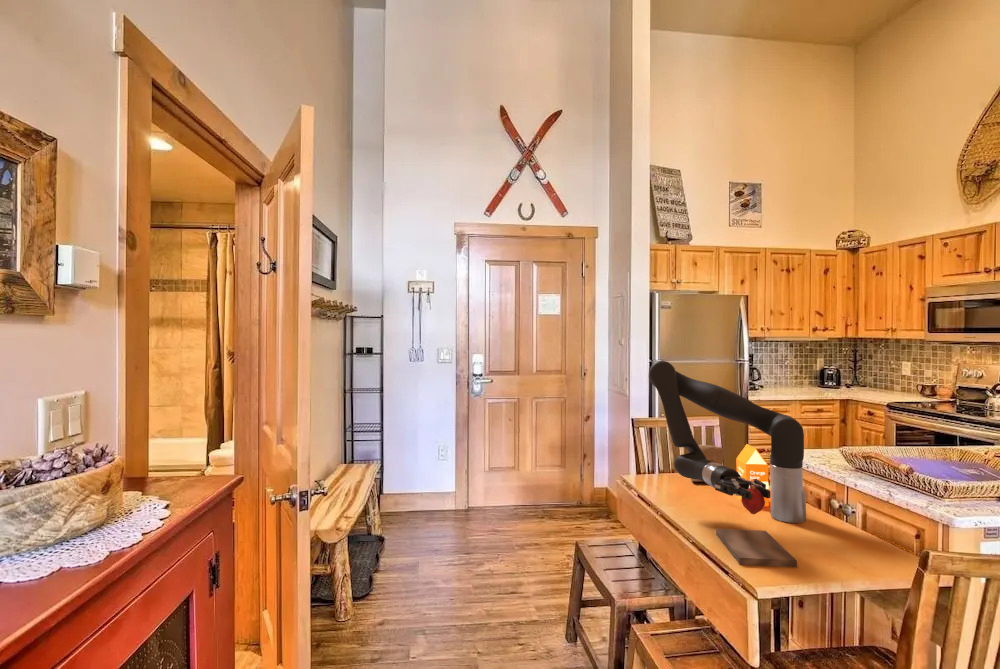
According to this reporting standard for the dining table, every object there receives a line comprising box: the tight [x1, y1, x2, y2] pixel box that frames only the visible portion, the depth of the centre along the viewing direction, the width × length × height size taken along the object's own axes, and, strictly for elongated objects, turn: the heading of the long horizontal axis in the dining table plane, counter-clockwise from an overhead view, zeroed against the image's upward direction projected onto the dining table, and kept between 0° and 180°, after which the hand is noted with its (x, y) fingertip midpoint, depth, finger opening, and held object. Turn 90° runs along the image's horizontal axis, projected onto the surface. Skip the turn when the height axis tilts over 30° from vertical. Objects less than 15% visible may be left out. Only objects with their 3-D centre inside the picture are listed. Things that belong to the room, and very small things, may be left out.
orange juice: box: [735, 443, 770, 507], centre depth 177 cm, size 8×9×20 cm
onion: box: [740, 485, 766, 515], centre depth 135 cm, size 6×6×8 cm
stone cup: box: [690, 444, 725, 483], centre depth 204 cm, size 15×12×15 cm
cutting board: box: [715, 528, 798, 568], centre depth 136 cm, size 14×20×2 cm
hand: (759, 495), depth 133 cm, fingers closed on onion, 5 cm apart
